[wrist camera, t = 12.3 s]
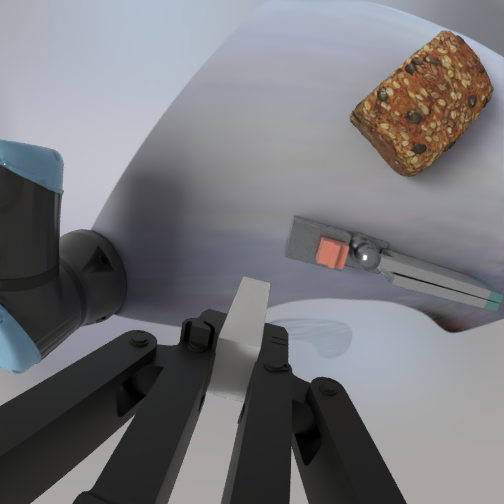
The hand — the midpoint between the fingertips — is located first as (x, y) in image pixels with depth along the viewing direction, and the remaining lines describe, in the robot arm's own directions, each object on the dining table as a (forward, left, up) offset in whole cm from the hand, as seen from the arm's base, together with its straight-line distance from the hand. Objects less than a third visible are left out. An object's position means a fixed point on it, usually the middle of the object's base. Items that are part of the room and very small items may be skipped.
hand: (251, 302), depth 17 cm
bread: (+15, +21, -24) cm, 35 cm away
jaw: (+22, +1, -23) cm, 31 cm away
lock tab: (+7, 0, -19) cm, 20 cm away
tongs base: (+18, 0, -24) cm, 30 cm away
